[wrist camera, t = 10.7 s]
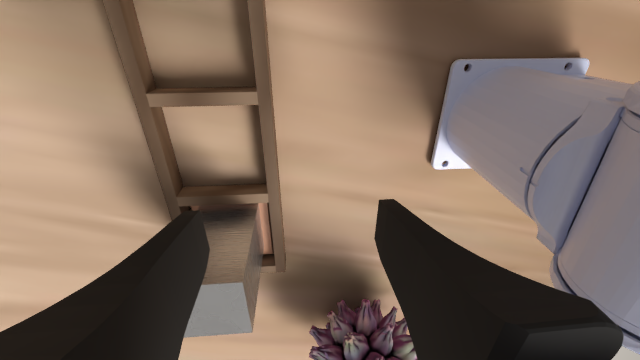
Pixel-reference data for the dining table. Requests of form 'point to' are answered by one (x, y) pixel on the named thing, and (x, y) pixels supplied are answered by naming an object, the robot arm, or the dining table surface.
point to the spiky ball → (362, 335)
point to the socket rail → (154, 99)
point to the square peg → (229, 271)
